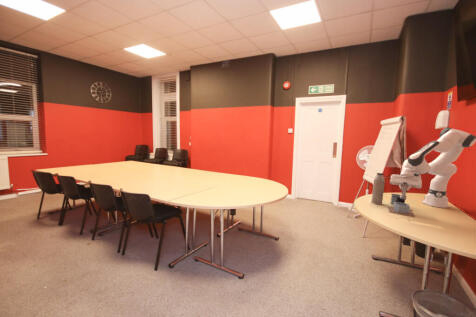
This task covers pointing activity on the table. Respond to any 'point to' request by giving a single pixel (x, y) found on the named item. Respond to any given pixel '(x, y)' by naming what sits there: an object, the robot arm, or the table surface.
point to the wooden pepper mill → (378, 189)
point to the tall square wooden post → (403, 191)
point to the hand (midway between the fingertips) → (404, 189)
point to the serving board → (401, 213)
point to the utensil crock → (401, 207)
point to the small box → (396, 199)
